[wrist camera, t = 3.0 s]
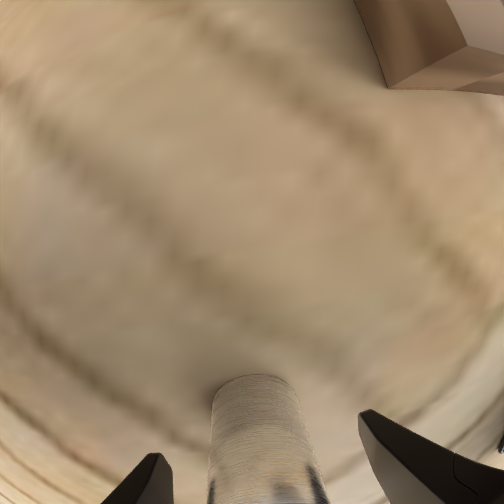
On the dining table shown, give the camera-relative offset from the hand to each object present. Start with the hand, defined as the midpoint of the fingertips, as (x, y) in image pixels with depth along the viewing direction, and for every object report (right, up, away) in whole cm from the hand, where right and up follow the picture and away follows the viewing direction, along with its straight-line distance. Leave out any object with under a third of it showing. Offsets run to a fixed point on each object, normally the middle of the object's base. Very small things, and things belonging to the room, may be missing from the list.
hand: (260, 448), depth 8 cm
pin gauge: (0, 0, +2) cm, 2 cm away
